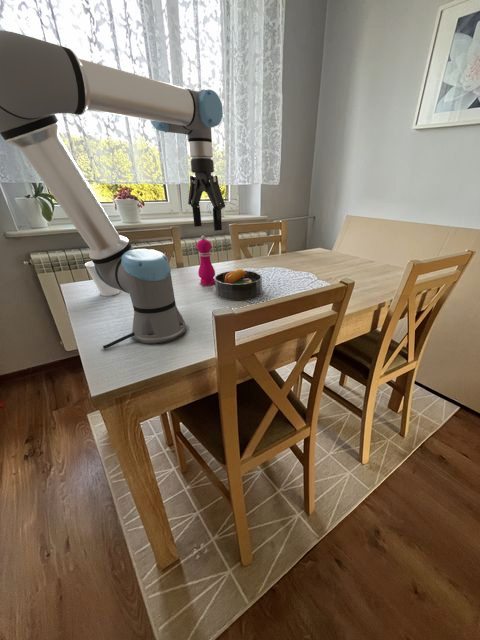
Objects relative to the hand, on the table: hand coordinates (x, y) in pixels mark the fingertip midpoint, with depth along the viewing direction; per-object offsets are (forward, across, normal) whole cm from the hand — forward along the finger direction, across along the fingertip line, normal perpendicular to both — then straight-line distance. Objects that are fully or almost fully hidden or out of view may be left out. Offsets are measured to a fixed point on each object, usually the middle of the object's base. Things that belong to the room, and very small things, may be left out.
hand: (207, 228), depth 106 cm
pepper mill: (+25, +12, -5) cm, 28 cm away
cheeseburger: (+24, -7, -8) cm, 26 cm away
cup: (+25, +28, +31) cm, 49 cm away
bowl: (+24, -7, -8) cm, 27 cm away
